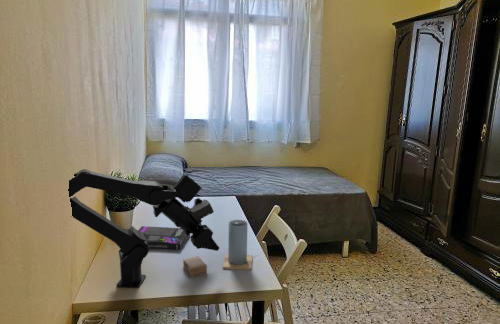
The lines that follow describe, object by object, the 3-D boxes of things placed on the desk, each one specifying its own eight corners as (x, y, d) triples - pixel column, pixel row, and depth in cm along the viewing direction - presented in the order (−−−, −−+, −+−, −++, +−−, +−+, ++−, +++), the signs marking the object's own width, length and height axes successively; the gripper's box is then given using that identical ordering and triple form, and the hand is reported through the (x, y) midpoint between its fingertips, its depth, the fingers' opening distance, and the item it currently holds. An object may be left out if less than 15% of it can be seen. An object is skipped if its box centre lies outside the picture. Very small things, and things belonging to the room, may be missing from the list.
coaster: (251, 269, 112) (251, 267, 112) (222, 268, 112) (222, 267, 112) (252, 256, 121) (252, 255, 121) (225, 256, 121) (225, 254, 121)
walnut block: (206, 274, 109) (206, 265, 109) (191, 278, 107) (191, 268, 106) (198, 264, 115) (198, 256, 115) (183, 268, 113) (183, 259, 112)
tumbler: (243, 266, 113) (244, 226, 110) (225, 263, 114) (225, 224, 112) (249, 258, 118) (249, 220, 116) (232, 255, 120) (232, 218, 117)
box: (127, 250, 127) (180, 252, 125) (126, 240, 126) (180, 242, 124) (142, 234, 140) (191, 236, 138) (141, 226, 140) (190, 227, 138)
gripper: (205, 201, 98) (242, 234, 105) (189, 185, 115) (221, 215, 121) (177, 232, 97) (216, 264, 103) (165, 211, 113) (199, 239, 120)
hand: (213, 243), depth 112 cm, fingers open, 9 cm apart
